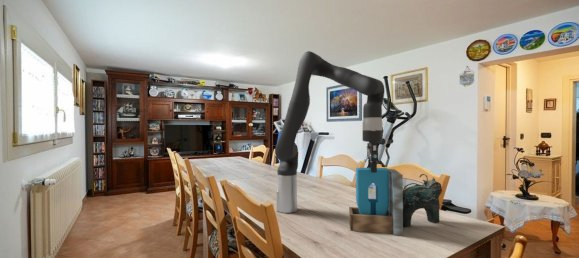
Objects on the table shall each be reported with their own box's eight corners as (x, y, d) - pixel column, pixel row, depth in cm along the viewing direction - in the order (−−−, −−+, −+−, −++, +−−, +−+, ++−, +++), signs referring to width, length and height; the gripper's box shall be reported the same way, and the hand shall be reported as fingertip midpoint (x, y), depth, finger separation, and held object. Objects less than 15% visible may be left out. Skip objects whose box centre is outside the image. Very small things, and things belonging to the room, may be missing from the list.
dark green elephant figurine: (433, 218, 114) (433, 171, 114) (446, 223, 108) (446, 174, 108) (395, 223, 108) (394, 174, 108) (406, 229, 102) (406, 177, 102)
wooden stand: (350, 232, 100) (350, 173, 100) (349, 219, 113) (348, 168, 113) (403, 235, 96) (402, 175, 96) (394, 222, 110) (394, 169, 110)
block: (386, 217, 107) (386, 167, 106) (389, 222, 102) (389, 170, 101) (356, 216, 108) (355, 167, 108) (357, 220, 103) (356, 169, 103)
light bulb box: (392, 203, 137) (392, 182, 137) (389, 206, 131) (389, 185, 131) (371, 200, 143) (371, 180, 143) (367, 203, 137) (367, 182, 137)
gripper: (361, 129, 112) (361, 167, 112) (364, 129, 98) (364, 173, 98) (379, 129, 111) (379, 168, 111) (385, 129, 97) (385, 174, 97)
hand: (372, 170), depth 105 cm, fingers open, 8 cm apart
